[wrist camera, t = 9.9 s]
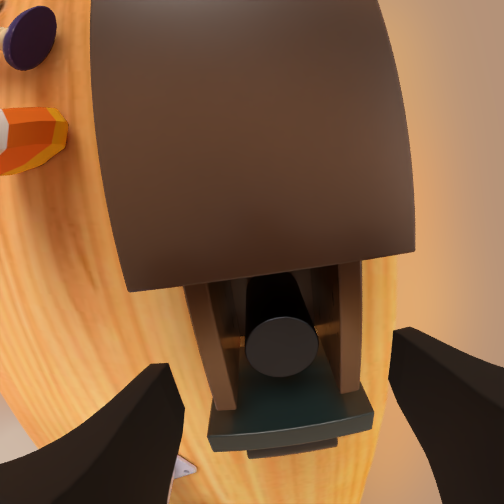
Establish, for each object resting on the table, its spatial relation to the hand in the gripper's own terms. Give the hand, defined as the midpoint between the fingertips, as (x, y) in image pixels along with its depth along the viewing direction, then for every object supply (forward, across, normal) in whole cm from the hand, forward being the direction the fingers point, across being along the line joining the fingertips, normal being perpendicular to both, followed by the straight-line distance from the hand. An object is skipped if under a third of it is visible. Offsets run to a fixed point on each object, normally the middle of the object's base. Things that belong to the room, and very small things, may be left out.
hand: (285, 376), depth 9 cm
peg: (+6, 0, 0) cm, 6 cm away
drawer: (+7, 0, +1) cm, 8 cm away
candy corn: (+9, +12, -10) cm, 18 cm away
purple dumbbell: (+6, +11, -17) cm, 21 cm away
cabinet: (+8, 0, -10) cm, 13 cm away
